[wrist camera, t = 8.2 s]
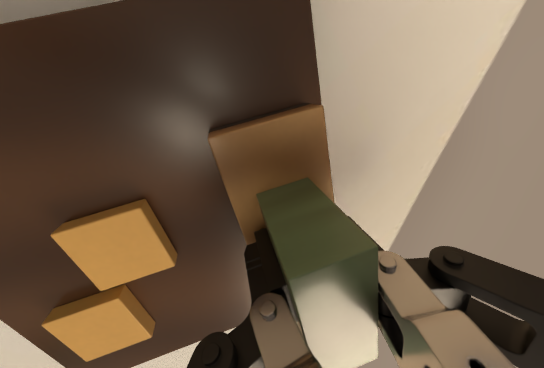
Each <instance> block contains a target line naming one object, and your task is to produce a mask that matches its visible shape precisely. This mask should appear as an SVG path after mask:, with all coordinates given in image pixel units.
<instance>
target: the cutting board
mask: <svg viewBox="0 0 544 368" xmlns="http://www.w3.org/2000/svg"><path fill="white" fill-rule="evenodd" d="M302 103H311V104H316V105H321V96H320V87H319V77H318V68H317V59H316V50H315V41H314V31H313V22H312V13H311V4H310V0H123V1H117V2H112V3H107V4H102V5H97V6H91V7H86V8H81V9H76V10H71V11H66V12H60V13H55V14H50V15H45V16H40V17H35V18H29V19H24V20H19V21H14V22H9V23H4V24H0V320H1V321H3V322H4V323H6V324H7V325H8V326H10V327H11V328H12V329H14V330H15V331H16V332H18V333H19V334H20V335H22V336H23V337H25V338H26V339H27V340H29V341H30V342H31V343H33V344H34V345H35V346H37V347H38V348H40V349H41V350H42V351H44V352H45V353H46V354H48V355H49V356H50V357H52V358H53V359H55V360H56V361H57V362H59V363H60V364H61V365H63V366H64V367H65V368H131V367H134V366H136V365H139V364H141V363H144V362H147V361H149V360H152V359H154V358H157V357H159V356H162V355H165V354H167V353H170V352H172V351H175V350H178V349H180V348H183V347H185V346H188V345H191V344H193V343H196V342H198V341H201V340H203V339H204V338H205V337H206V336H208V335H209V334H211V333H214V332H224V331H227V330H229V329H232V328H235V327H237V326H239V325H240V324H241V323H242V322H243V321H244V320H245V319H246V317H247V316H248V314H249V312H250V309H251V303H252V301H251V294H250V288H249V282H248V276H247V270H246V263H245V258H244V252H245V249H246V246H247V244H246V241H245V239H244V236H243V233H242V231H241V228H240V225H239V223H238V220H237V217H236V215H235V212H234V209H233V207H232V204H231V201H230V199H229V196H228V193H227V191H226V188H225V185H224V183H223V180H222V177H221V175H220V172H219V169H218V167H217V164H216V161H215V159H214V156H213V153H212V151H211V148H210V145H209V143H208V132H209V129H212V128H216V127H220V126H223V125H227V124H230V123H234V122H237V121H241V120H245V119H248V118H252V117H255V116H259V115H262V114H266V113H270V112H273V111H277V110H280V109H284V108H288V107H291V106H295V105H298V104H302ZM142 199H146V201H147V202H148V204H149V206H150V207H151V209H152V211H153V213H154V214H155V216H156V218H157V220H158V221H159V223H160V225H161V226H162V228H163V230H164V232H165V233H166V235H167V237H168V239H169V240H170V242H171V244H172V245H173V247H174V249H175V251H176V252H177V259H176V264H175V266H174V267H171V268H168V269H165V270H162V271H159V272H156V273H153V274H150V275H147V276H144V277H141V278H138V279H136V280H133V281H130V282H127V283H124V284H125V285H126V286H127V288H128V289H129V290H130V291H131V293H132V294H133V295H134V296H135V298H136V299H137V300H138V301H139V303H140V304H141V305H142V306H143V308H144V309H145V310H146V311H147V312H148V314H149V315H150V316H151V317H152V319H153V320H154V321H155V327H154V331H153V335H152V337H151V338H149V339H146V340H144V341H141V342H138V343H136V344H133V345H130V346H128V347H125V348H122V349H120V350H117V351H114V352H112V353H109V354H106V355H104V356H101V357H98V358H96V359H93V360H90V361H88V362H86V361H85V360H83V359H82V358H81V357H80V356H79V355H77V354H76V353H75V352H74V351H72V350H71V349H70V348H69V347H67V346H66V345H65V344H64V343H62V342H61V341H60V340H59V339H57V338H56V337H55V336H54V335H52V334H51V333H50V332H49V331H48V330H46V329H45V328H44V327H43V326H42V323H43V322H44V320H45V319H46V318H47V316H48V315H49V314H50V312H51V311H52V310H53V309H54V308H56V307H59V306H62V305H65V304H68V303H71V302H74V301H77V300H80V299H83V298H86V297H89V296H91V295H94V294H97V293H100V292H103V291H106V290H109V289H112V288H115V287H118V286H121V285H124V284H121V285H118V286H115V287H112V288H109V289H106V290H103V291H100V290H99V289H98V288H97V287H96V286H95V284H94V283H93V282H92V281H91V280H90V279H89V278H88V277H87V276H86V275H85V273H84V272H83V271H82V270H81V269H80V268H79V267H78V266H77V265H76V263H75V262H74V261H73V260H72V259H71V258H70V257H69V256H68V255H67V254H66V252H65V251H64V250H63V249H62V248H61V247H60V246H59V245H58V244H57V242H56V241H55V240H54V239H53V238H52V237H51V234H52V233H53V232H54V231H55V230H56V229H57V228H58V227H60V226H61V225H62V224H63V223H66V222H69V221H72V220H76V219H79V218H82V217H86V216H89V215H92V214H96V213H99V212H102V211H106V210H109V209H112V208H116V207H119V206H122V205H126V204H129V203H132V202H136V201H139V200H142Z"/></svg>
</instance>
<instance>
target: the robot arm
mask: <svg viewBox="0 0 544 368" xmlns="http://www.w3.org/2000/svg"><path fill="white" fill-rule="evenodd" d="M348 217H349V216H348ZM349 218H350V217H349ZM350 219H351V218H350ZM351 220H352V219H351ZM352 221H353V220H352ZM353 222H354V221H353ZM354 223H355V222H354ZM355 224H356V223H355ZM356 225H357V224H356ZM357 226H358V227H359V228H360V229H361V227H360V226H359V225H357ZM361 230H362V229H361ZM362 231H363V232H364V233H365V234H366V235H367V236H368V237H369V238H370V239H371V240H372V241H373V242H374V243H375V244H376V245H377V246H378V327H379V328H380V330H381V332H382V334H383V336H384V338H385V340H386V342H387V344H388V346H389V347H390V349H391V351H392V353H393V355H394V357H395V359H396V361H397V364H398V366H399V368H515V366H516V367H518V368H544V279H542V278H539V277H536V276H533V275H531V274H528V273H525V272H522V271H520V270H517V269H514V268H511V267H508V266H506V265H503V264H500V263H497V262H494V261H492V260H489V259H486V258H483V257H481V256H478V255H475V254H472V253H469V252H467V251H463V250H461V249H458V248H455V247H450V246H439V247H436V248H434V249H432V250H431V251H430V255H429V258H414V259H404V258H403V257H401V256H399V255H398V254H396V253H393V252H390V251H384V250H383V249H382V248H381V247H380V246H379V245H378V244H377V243H376V242H375V241H374V240H373V239H372V238H371V237H370V236H369V235H368V234H367V233H366V232H365V231H364V230H362ZM254 235H255V239H256V242H255V243H252V244H249V245H247V246H246V249H245V252H244V258H245V263H246V270H247V276H248V282H249V288H250V294H251V301H252V303H251V309H250V312H249V314H248V316H247V317H246V319H245V320H244V321H243V322H242V323H241V324H240V325H239V326H237V327H236V328H235V329H234V330H232V331H231V332H230V333H229V334H226V333H224V332H214V333H211V334H209V335H208V336H206V337H205V338H204V339H203V340H202V341H201V342H200V343H199V344H198V345H197V347H196V348H195V350H194V352H193V355H192V357H191V359H190V361H189V364H188V366H187V368H322V367H321V365H320V363H319V362H318V360H317V359H316V358H315V357H314V355H313V354H312V352H311V350H310V348H309V346H308V344H307V342H306V340H305V338H304V336H303V334H302V332H301V330H300V328H299V326H298V324H297V319H296V315H295V312H294V308H293V305H292V302H291V298H290V295H289V291H288V288H287V285H286V282H285V279H284V276H283V273H282V271H281V268H280V265H279V262H278V259H277V257H276V254H275V251H274V248H273V245H272V242H271V240H270V237H269V234H268V231H267V228H264V229H261V230H258V231H255V232H254ZM471 295H472V296H474V297H476V298H478V299H480V300H482V301H485V302H487V303H489V304H491V305H493V306H495V307H497V308H499V309H501V310H503V311H506V312H508V313H510V314H512V315H514V316H516V317H518V318H521V319H522V320H524V321H521V320H518V319H515V318H513V317H511V316H509V315H507V314H505V313H502V312H500V311H498V310H496V309H494V308H492V307H490V306H488V305H486V304H484V303H481V302H479V301H477V300H475V299H473V298H471ZM514 365H515V366H514Z"/></svg>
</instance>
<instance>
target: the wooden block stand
mask: <svg viewBox="0 0 544 368" xmlns="http://www.w3.org/2000/svg"><path fill="white" fill-rule="evenodd" d="M208 143H209V145H210V148H211V151H212V153H213V156H214V159H215V161H216V164H217V167H218V169H219V172H220V175H221V177H222V180H223V183H224V185H225V188H226V191H227V193H228V196H229V199H230V201H231V204H232V207H233V209H234V212H235V215H236V217H237V220H238V223H239V225H240V228H241V231H242V233H243V236H244V239H245V241H246V244H247V245H249V244H252V243H255V242H256V239H255V235H254V232H255V231H258V230H261V229H264V228H267V231H268V234H269V237H270V240H271V242H272V245H273V248H274V251H275V254H276V257H277V259H278V262H279V265H280V268H281V271H282V273H283V276H284V279H285V282H286V285H287V288H288V291H289V295H290V298H291V302H292V305H293V308H294V312H295V315H296V319H297V324H298V326H299V328H300V330H301V332H302V334H303V336H304V338H305V340H306V342H307V344H308V346H309V348H310V350H311V352H312V354H313V355H314V357H315V358H316V359H317V360H318V362H319V363H320V365H321V367H322V368H356V367H358V366H361V365H363V364H365V363H367V362H370V361H372V360H374V359H377V358H378V246H377V245H376V244H375V243H374V242H373V241H372V240H371V239H370V238H369V237H368V236H367V235H366V234H365V233H364V232H363V231H362V230H361V229H360V228H359V227H358V226H357V225H356V224H355V223H354V222H353V221H352V220H351V219H350V218H349V217H348V216H347V215H346V214H345V213H344V212H343V211H342V210H341V209H340V208H339V207H338V206H337V205H336V204H335V203H334V197H333V188H332V179H331V170H330V161H329V153H328V144H327V135H326V126H325V117H324V108H323V106H322V105H316V104H311V103H302V104H298V105H295V106H291V107H288V108H284V109H280V110H277V111H273V112H270V113H266V114H262V115H259V116H255V117H252V118H248V119H245V120H241V121H237V122H234V123H230V124H227V125H223V126H220V127H216V128H212V129H209V132H208Z"/></svg>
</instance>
